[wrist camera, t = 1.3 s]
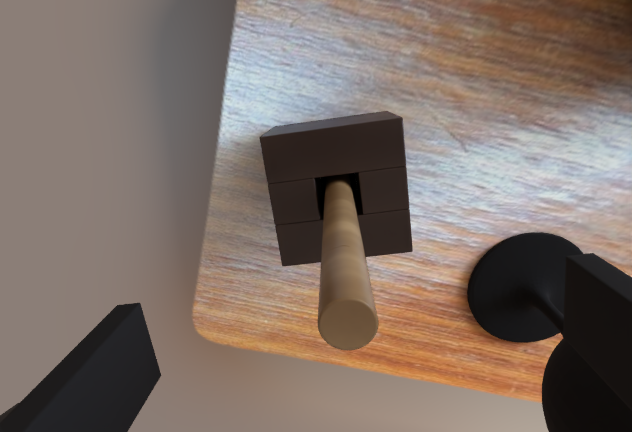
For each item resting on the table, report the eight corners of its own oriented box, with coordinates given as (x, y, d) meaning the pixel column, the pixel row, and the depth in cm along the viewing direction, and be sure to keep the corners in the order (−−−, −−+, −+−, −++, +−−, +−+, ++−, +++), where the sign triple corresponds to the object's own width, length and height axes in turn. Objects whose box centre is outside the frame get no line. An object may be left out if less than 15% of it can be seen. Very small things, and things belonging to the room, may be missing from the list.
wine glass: (548, 206, 33) (839, 365, 14) (614, 295, 36) (942, 538, 16) (442, 281, 36) (570, 504, 17) (509, 361, 38) (691, 640, 19)
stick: (324, 164, 33) (313, 301, 12) (347, 162, 33) (375, 295, 12) (327, 186, 34) (321, 354, 13) (349, 183, 33) (381, 348, 12)
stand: (274, 126, 32) (259, 137, 26) (387, 110, 32) (402, 117, 25) (291, 232, 35) (282, 266, 28) (396, 219, 34) (412, 252, 28)
